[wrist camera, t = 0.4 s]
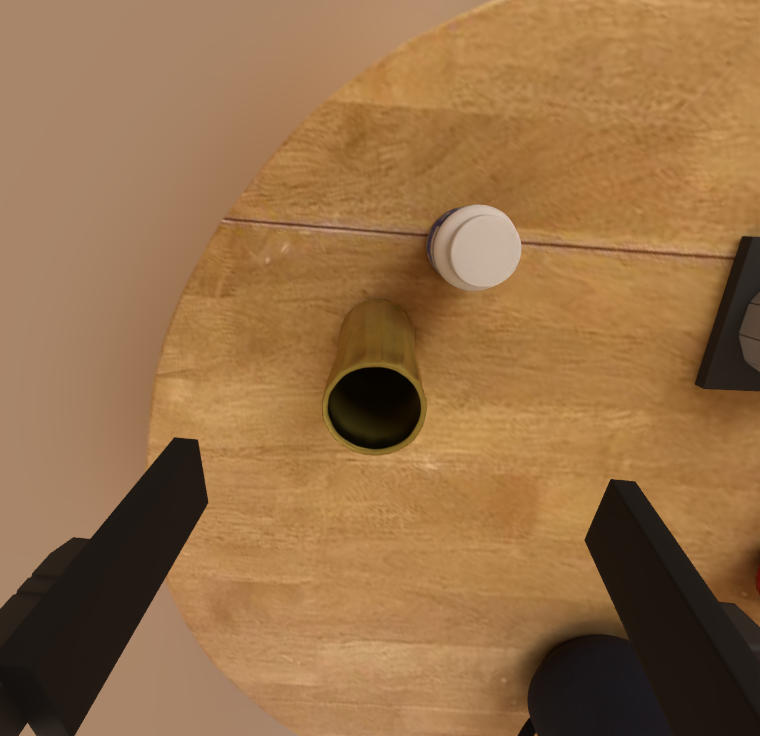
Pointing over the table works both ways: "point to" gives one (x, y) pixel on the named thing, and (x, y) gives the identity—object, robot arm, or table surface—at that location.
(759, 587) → the apple
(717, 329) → the socket pad
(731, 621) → the robot arm
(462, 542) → the table surface
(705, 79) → the table surface
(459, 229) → the pill bottle
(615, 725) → the teapot
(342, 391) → the vase
